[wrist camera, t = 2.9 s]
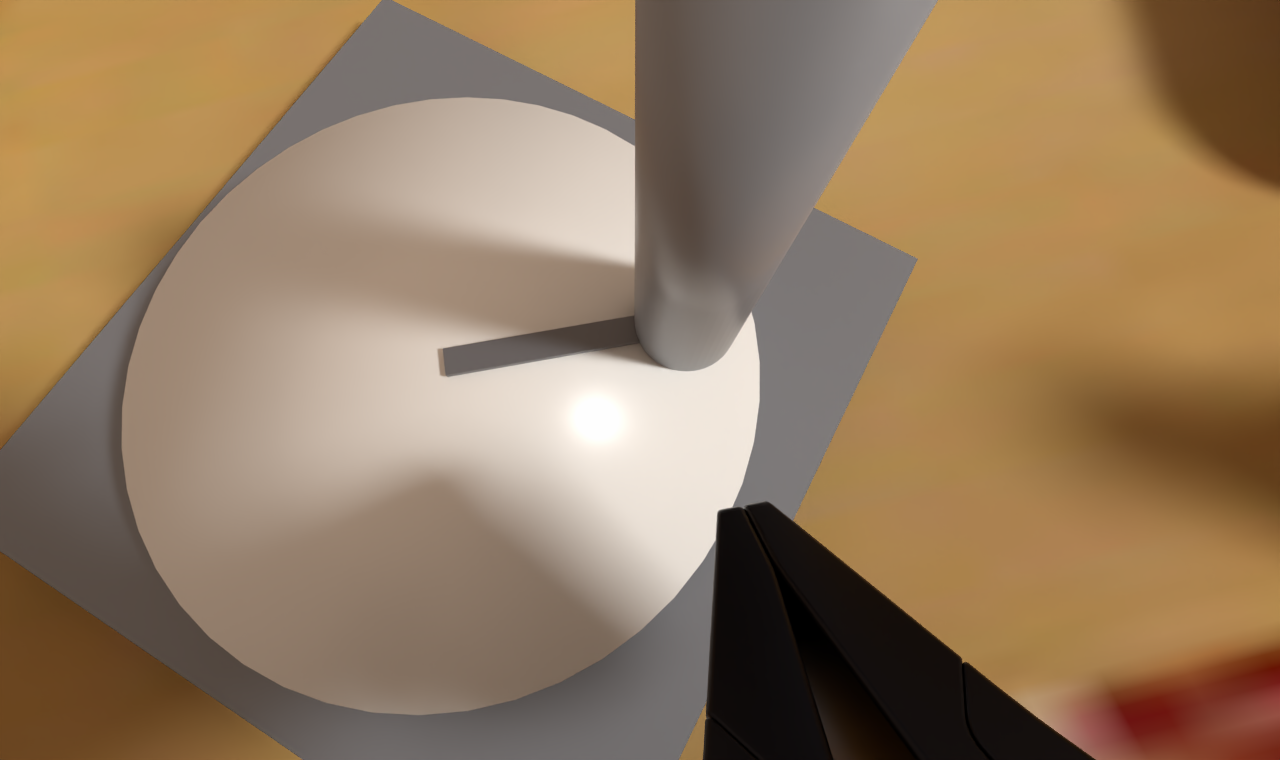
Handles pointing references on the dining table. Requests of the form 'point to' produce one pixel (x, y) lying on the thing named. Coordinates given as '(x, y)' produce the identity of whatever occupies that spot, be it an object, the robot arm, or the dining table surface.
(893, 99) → the dining table surface
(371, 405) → the dial
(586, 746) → the dial board
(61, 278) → the dining table surface
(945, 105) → the dining table surface
